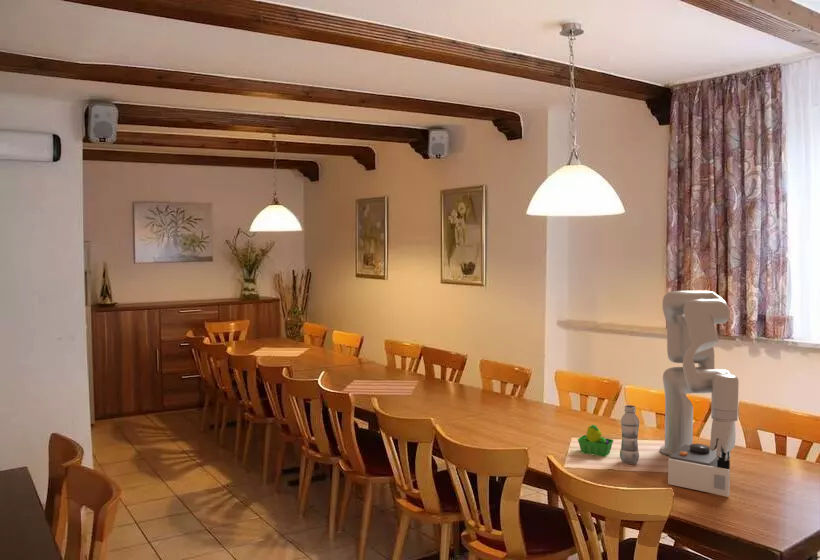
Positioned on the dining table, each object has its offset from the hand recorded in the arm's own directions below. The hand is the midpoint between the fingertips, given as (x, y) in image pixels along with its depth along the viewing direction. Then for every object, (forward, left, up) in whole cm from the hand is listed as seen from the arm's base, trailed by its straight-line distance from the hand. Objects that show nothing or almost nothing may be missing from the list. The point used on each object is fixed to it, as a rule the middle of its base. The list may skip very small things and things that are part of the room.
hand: (723, 472), depth 216 cm
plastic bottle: (-9, -33, -6) cm, 35 cm away
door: (+5, -6, -5) cm, 10 cm away
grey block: (-4, -9, -6) cm, 11 cm away
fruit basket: (-12, -47, -6) cm, 49 cm away
